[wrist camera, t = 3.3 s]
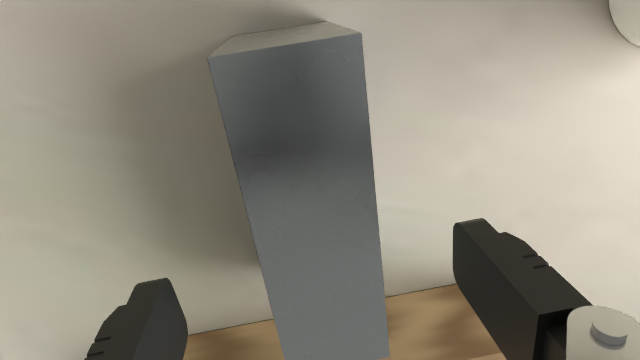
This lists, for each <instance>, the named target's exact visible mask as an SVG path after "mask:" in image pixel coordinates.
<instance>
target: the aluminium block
mask: <svg viewBox="0 0 640 360" xmlns="http://www.w3.org/2000/svg"><path fill="white" fill-rule="evenodd" d="M207 60H208V64H209V67H210V71H211V75H212V79H213V83H214V87H215V91H216V95H217V99H218V102H219V106H220V110H221V114H222V118H223V122H224V126H225V130H226V134H227V137H228V141H229V145H230V149H231V153H232V157H233V161H234V165H235V169H236V172H237V176H238V180H239V184H240V188H241V192H242V196H243V200H244V204H245V207H246V211H247V215H248V219H249V223H250V227H251V231H252V235H253V239H254V243H255V246H256V250H257V254H258V258H259V262H260V266H261V270H262V274H263V278H264V281H265V285H266V289H267V293H268V297H269V301H270V305H271V309H272V313H273V316H274V320H275V324H276V328H277V332H278V336H279V340H280V344H281V348H282V351H283V355H284V359H285V360H377V359H382V358H387V357H390V350H389V339H388V328H387V317H386V305H385V294H384V283H383V272H382V260H381V249H380V238H379V226H378V215H377V204H376V193H375V181H374V170H373V159H372V148H371V136H370V125H369V114H368V102H367V91H366V80H365V69H364V57H363V46H362V35H361V33H360V32H357V31H354V30H351V29H348V28H345V27H342V26H339V25H336V24H333V23H330V22H327V21H325V22H319V23H313V24H307V25H300V26H294V27H288V28H281V29H275V30H269V31H263V32H256V33H250V34H244V35H237V36H232V37H231V38H229V39H228V40H227V41H226V42H225V43H224V44H222V45H221V46H220V47H219V48H218V49H217V50H215V51H214V52H213V53H212V54H211V55H210V56H208V57H207Z"/></svg>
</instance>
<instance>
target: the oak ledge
mask: <svg viewBox="0 0 640 360" xmlns="http://www.w3.org/2000/svg"><path fill="white" fill-rule="evenodd" d="M385 305H386V317H387V328H388V339H389V350H390V357H387V358H382V359H377V360H506V358H505V357H504V355H503V354H502V352H501V351H500V349H499V348H498V346H497V345H496V343H495V342H494V340H493V339H492V337H491V336H490V334H489V333H488V331H487V330H486V328H485V327H484V325H483V324H482V322H481V321H480V319H479V318H478V316H477V315H476V313H475V312H474V310H473V309H472V307H471V306H470V304H469V303H468V301H467V300H466V298H465V297H464V295H463V294H462V292H461V291H460V289H459V287H458V285H457V284H454V285H449V286H444V287H439V288H433V289H428V290H423V291H418V292H413V293H407V294H402V295H397V296H392V297H387V298H385ZM183 360H285V359H284V355H283V351H282V348H281V344H280V340H279V336H278V332H277V328H276V324H275V320H274V319H272V320H267V321H262V322H257V323H251V324H246V325H241V326H236V327H231V328H225V329H220V330H215V331H210V332H205V333H199V334H194V335H189V336H188V339H187V345H186V349H185V353H184V357H183Z"/></svg>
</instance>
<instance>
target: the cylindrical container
mask: <svg viewBox="0 0 640 360" xmlns="http://www.w3.org/2000/svg"><path fill="white" fill-rule="evenodd" d="M609 8H610V12H611V15H612V19H613V22H614V23H615V25H616V27H617V28H618V30H619V32H620V33H621V34H622V35H623V36H624V37H625V38H626V39H627V40H628V41H629V42H631V43H633V44H635V45H637V46H639V47H640V0H609Z"/></svg>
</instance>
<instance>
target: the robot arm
mask: <svg viewBox="0 0 640 360" xmlns="http://www.w3.org/2000/svg"><path fill="white" fill-rule="evenodd" d="M453 272H454V277H455V280H456V283H457V285H458V287H459V289H460V291H461V292H462V294H463V295H464V297H465V298H466V300H467V301H468V303H469V304H470V306H471V307H472V309H473V310H474V312H475V313H476V315H477V316H478V318H479V319H480V321H481V322H482V324H483V325H484V327H485V328H486V330H487V331H488V333H489V334H490V336H491V337H492V339H493V340H494V342H495V343H496V345H497V346H498V348H499V349H500V351H501V352H502V354H503V355H504V357H505V358H506V360H640V323H639V322H638V321H636V320H635V319H633V318H632V317H630V316H628V315H626V314H624V313H622V312H620V311H617V310H614V309H611V308H607V307H602V306H593V305H592V304H591V303H590V302H589V301H588V300H587V299H586V298H585V297H584V296H582V295H581V294H580V293H579V292H578V291H577V290H576V289H575V288H574V287H573V286H572V285H571V284H570V283H569V282H567V281H566V280H565V279H564V278H563V277H562V276H561V275H560V274H559V273H558V272H557V271H556V270H555V269H554V268H552V267H551V266H550V267H549V265H548V263H547V262H546V261H545V260H544V259H543V258H542V257H541V256H538V255H537V253H536V252H535V251H534V250H533V249H532V248H531V247H530V246H529V245H528V244H527V243H526V242H525V241H523V240H521V239H519V238H517V237H515V236H513V235H511V234H509V233H507V232H503V233H498V232H497V231H496V230H495V229H494V228H493V227H492V226H491V225H490V224H489V223H488V222H487V221H486V220H485V219H483V218H480V219H474V220H469V221H464V222H459V223H455V225H454V227H453ZM187 339H188V330H187V323H186V319H185V317H184V314H183V311H182V309H181V306H180V304H179V301H178V299H177V296H176V294H175V291H174V289H173V286H172V284H171V282H170V280H169V279H168V278H163V279H158V280H152V281H147V282H142V283H138V284H137V285H136V286H135V287H134V290H133V292H132V294H131V296H130V298H129V300H128V302H127V305H123V306H119V307H118V308H117V309H116V310H115V311H114V312H113V313H112V314H111V315H110V316H109V317H108V318H107V319H106V320H105V321H104V322H103V324H102V326H101V328H100V330H99V332H98V334H97V336H96V338H95V340H94V341H95V343H93V344H92V345H91V347H90V349H89V351H88V353H87V358H85V359H84V360H183V357H184V353H185V349H186V345H187Z"/></svg>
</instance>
